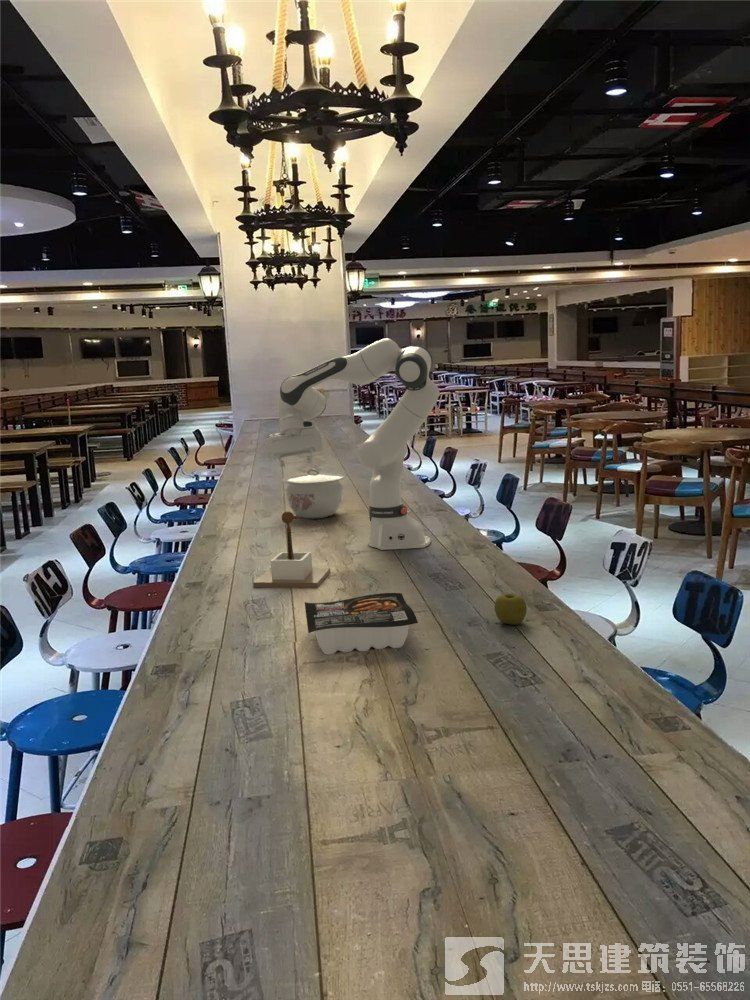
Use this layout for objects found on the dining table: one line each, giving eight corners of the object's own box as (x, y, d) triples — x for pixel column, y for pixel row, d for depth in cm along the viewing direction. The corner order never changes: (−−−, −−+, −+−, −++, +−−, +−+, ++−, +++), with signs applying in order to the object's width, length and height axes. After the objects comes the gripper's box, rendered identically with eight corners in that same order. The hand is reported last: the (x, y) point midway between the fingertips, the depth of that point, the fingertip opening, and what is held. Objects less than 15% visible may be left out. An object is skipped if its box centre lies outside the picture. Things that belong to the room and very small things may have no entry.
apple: (504, 616, 198) (503, 589, 196) (532, 621, 193) (532, 594, 191) (488, 625, 192) (488, 597, 191) (517, 631, 187) (517, 602, 186)
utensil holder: (330, 572, 246) (329, 549, 244) (317, 587, 230) (315, 563, 229) (270, 572, 250) (268, 549, 248) (253, 587, 234) (251, 563, 233)
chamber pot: (345, 521, 321) (343, 471, 317) (279, 524, 322) (276, 474, 318) (349, 507, 348) (346, 462, 344) (288, 510, 349) (285, 465, 345)
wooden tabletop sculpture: (304, 572, 242) (299, 509, 238) (301, 576, 237) (297, 512, 234) (285, 573, 242) (280, 510, 239) (282, 577, 238) (277, 512, 234)
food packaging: (401, 590, 199) (417, 619, 177) (402, 618, 201) (419, 650, 178) (304, 599, 196) (308, 630, 174) (306, 627, 198) (310, 661, 176)
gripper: (261, 431, 268) (264, 464, 261) (319, 421, 268) (323, 453, 261) (265, 441, 274) (268, 474, 267) (322, 431, 274) (326, 463, 266)
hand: (296, 464), depth 264 cm, fingers open, 8 cm apart
